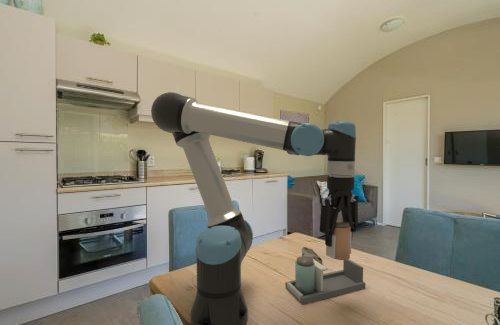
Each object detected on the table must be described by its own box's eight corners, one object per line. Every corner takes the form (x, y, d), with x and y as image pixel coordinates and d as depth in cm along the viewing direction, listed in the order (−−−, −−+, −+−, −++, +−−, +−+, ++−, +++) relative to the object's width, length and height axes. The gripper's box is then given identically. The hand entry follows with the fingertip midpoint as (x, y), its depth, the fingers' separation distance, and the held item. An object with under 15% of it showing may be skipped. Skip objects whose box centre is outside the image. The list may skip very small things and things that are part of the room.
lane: (302, 304, 74) (302, 282, 73) (285, 287, 83) (285, 267, 83) (365, 288, 82) (365, 268, 82) (343, 274, 92) (343, 256, 91)
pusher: (320, 294, 77) (321, 269, 77) (307, 282, 84) (307, 260, 84) (327, 292, 78) (327, 268, 78) (313, 281, 85) (313, 259, 85)
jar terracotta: (339, 261, 70) (340, 226, 69) (323, 254, 75) (324, 220, 75) (354, 257, 73) (355, 223, 72) (338, 250, 78) (338, 218, 78)
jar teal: (302, 298, 76) (302, 265, 75) (291, 288, 81) (291, 257, 81) (318, 293, 78) (318, 262, 78) (307, 284, 84) (307, 254, 83)
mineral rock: (323, 273, 93) (323, 261, 93) (301, 271, 95) (301, 259, 95) (320, 257, 108) (320, 246, 108) (301, 255, 109) (301, 245, 109)
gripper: (326, 178, 65) (324, 266, 66) (373, 175, 74) (370, 253, 75) (306, 175, 72) (305, 255, 73) (352, 173, 81) (350, 244, 82)
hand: (338, 254), depth 74 cm, fingers closed on jar terracotta, 6 cm apart
